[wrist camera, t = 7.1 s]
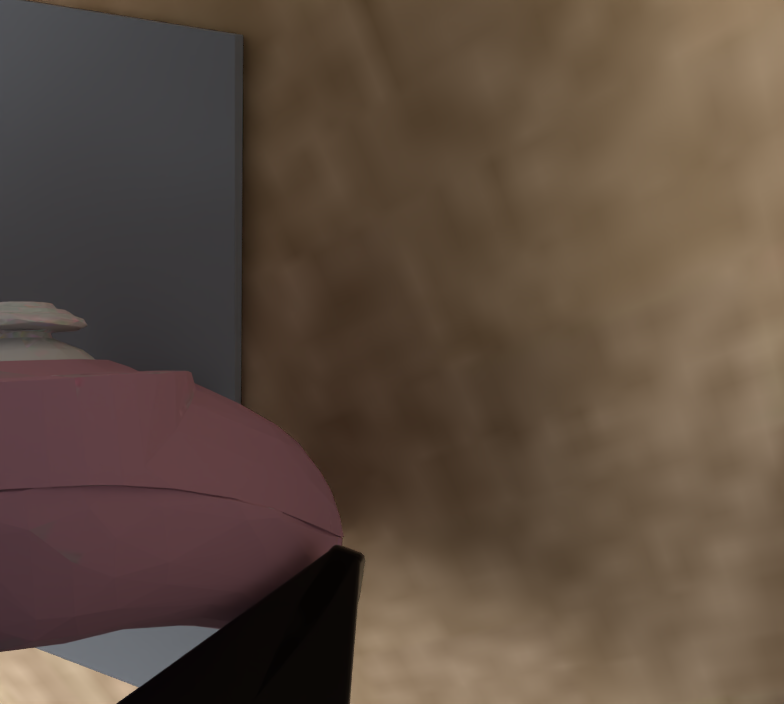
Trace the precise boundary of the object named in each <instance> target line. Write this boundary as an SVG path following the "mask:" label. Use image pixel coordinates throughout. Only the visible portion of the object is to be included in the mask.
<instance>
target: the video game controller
mask: <svg viewBox="0 0 784 704" xmlns="http://www.w3.org/2000/svg"><path fill="white" fill-rule="evenodd" d="M86 326H88V325H87V324H86V322H85V320H84V319H82V318H79V317H76V316H74V315H73V314H71V313H70V312H68V311H66V310H63V309H57V308H56V307H55V306H54V305H53V304H51V303H45V302H0V652H3V651H11V650H19V649H26V648H34V647H42V646H50V645H58V644H65V643H69V642H73V641H77V640H81V639H85V638H89V637H94V636H98V635H102V634H106V633H110V632H114V631H118V630H122V629H137V628H152V627H167V626H198V627H206V628H214V629H221V628H222V627H224V626H225V625H226V624H228V623H229V622H231V621H232V620H233V619H235V618H236V617H237V616H239V615H240V614H242V613H243V612H244V611H246V610H247V609H249V608H250V607H251V606H253V605H254V604H256V603H257V602H258V601H260V600H261V599H262V598H264V597H265V596H267V595H268V594H269V593H271V592H272V591H274V590H275V589H276V588H278V587H279V586H281V585H282V584H283V583H285V582H286V581H287V580H289V579H290V578H292V577H293V576H294V575H296V574H297V573H299V572H300V571H301V570H303V569H304V568H306V567H307V566H308V565H310V564H311V563H312V562H314V561H315V560H317V559H318V558H319V557H321V556H322V555H324V554H325V553H326V552H328V551H329V549H330V548H331V547H332V546H334V545H341V546H342V537H344V536H343V530H342V525H341V519H340V515H339V512H338V509H337V506H336V503H335V500H334V497H333V494H332V491H331V490H330V488H329V486H328V484H327V482H326V481H325V479H324V477H323V475H322V473H321V472H320V471H319V469H318V468H317V467H316V465H315V464H314V463H313V461H312V460H311V459H310V457H309V456H308V455H307V453H306V452H305V451H304V449H303V448H302V447H301V445H300V444H299V443H298V442H297V441H295V440H294V439H293V438H292V437H291V436H289V435H288V434H287V433H286V432H285V431H283V430H282V429H281V428H280V427H279V426H277V425H276V424H274V423H272V422H271V421H269V420H267V419H265V418H264V417H262V416H260V415H258V414H257V413H255V412H253V411H251V410H249V409H248V408H246V407H244V406H242V405H241V404H239V403H237V402H235V401H233V400H230V399H228V398H226V397H224V396H222V395H220V394H217V393H215V392H213V391H211V390H209V389H207V388H204V387H202V386H200V385H198V384H196V383H194V380H193V377H192V373H191V372H189V371H137V370H135V369H133V368H131V367H128V366H125V365H122V364H119V363H116V362H113V361H110V360H96V359H94V358H93V357H92V356H90V355H89V354H88V353H87V352H85V351H84V350H82V349H79V348H76V347H74V346H71V345H69V344H66V343H64V342H61V341H59V340H56V339H53V338H52V335H51V333H57V332H69V331H78V330H80V329H82V328H84V327H86Z"/></svg>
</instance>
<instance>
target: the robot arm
mask: <svg viewBox="0 0 784 704" xmlns="http://www.w3.org/2000/svg"><path fill="white" fill-rule="evenodd" d="M364 566H365V556H364V555H363V554H362V553H361V552H358V551H355V550H352V549H349V548H346V547H344V546H341V545H334V546H332V547H331V548H330V549H329V551H328V552H326V553H325V554H324V555H322V556H321V557H319V558H318V559H317V560H315V561H314V562H312V563H311V564H310V565H308V566H307V567H306V568H304V569H303V570H301V571H300V572H299V573H297V574H296V575H294V576H293V577H292V578H290V579H289V580H287V581H286V582H285V583H283V584H282V585H281V586H279V587H278V588H276V589H275V590H274V591H272V592H271V593H269V594H268V595H267V596H265V597H264V598H262V599H261V600H260V601H258V602H257V603H256V604H254V605H253V606H251V607H250V608H249V609H247V610H246V611H244V612H243V613H242V614H240V615H239V616H237V617H236V618H235V619H233V620H232V621H231V622H229V623H228V624H226V625H225V626H224V627H222V628H221V629H219V630H218V631H217V632H215V633H214V634H212V635H211V636H210V637H208V638H207V639H206V640H204V641H203V642H201V643H200V644H199V645H197V646H196V647H194V648H193V649H192V650H190V651H189V652H187V653H186V654H185V655H183V656H182V657H181V658H179V659H178V660H176V661H175V662H174V663H172V664H171V665H169V666H168V667H167V668H165V669H164V670H163V671H161V672H160V673H158V674H157V675H156V676H154V677H153V678H151V679H150V680H149V681H147V682H146V683H144V684H143V685H142V686H140V687H139V688H138V689H136V690H135V691H133V692H132V693H131V694H129V695H128V696H126V697H125V698H124V699H122V700H121V701H119V702H118V703H117V704H350V694H351V682H352V669H353V656H354V644H355V631H356V619H357V606H358V601H359V597H360V592H361V585H362V579H363V573H364Z"/></svg>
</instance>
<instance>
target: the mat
mask: <svg viewBox="0 0 784 704" xmlns="http://www.w3.org/2000/svg"><path fill="white" fill-rule="evenodd" d="M242 143H243V35H240V34H234V33H228V32H222V31H215V30H209V29H203V28H196V27H190V26H184V25H178V24H171V23H165V22H159V21H153V20H146V19H140V18H134V17H128V16H121V15H115V14H109V13H102V12H96V11H90V10H84V9H77V8H71V7H65V6H59V5H52V4H46V3H40V2H33V1H27V0H0V302H45V303H51V304H53V305H54V306H55V307H56V308H57V309H63V310H66V311H68V312H70V313H71V314H73V315H74V316H76V317H79V318H82V319H84V320H85V322H86V324H87V325H88V326H86V327H84V328H82V329H80V330H78V331H69V332H57V333H51V335H52V338H53V339H56V340H59V341H61V342H64V343H66V344H69V345H71V346H74V347H76V348H79V349H82V350H84V351H85V352H87V353H88V354H89V355H90V356H92V357H93V358H94V359H96V360H110V361H113V362H116V363H119V364H122V365H125V366H128V367H131V368H133V369H135V370H137V371H189V372H191V373H192V377H193V380H194V383H196V384H198V385H200V386H202V387H204V388H207V389H209V390H211V391H213V392H215V393H217V394H220V395H222V396H224V397H226V398H228V399H230V400H233V401H235V402H237V403H239V404H241V310H242ZM218 630H219V629H214V628H206V627H198V626H167V627H152V628H137V629H122V630H118V631H114V632H110V633H106V634H102V635H98V636H94V637H89V638H85V639H81V640H77V641H73V642H69V643H65V644H58V645H50V646H42V647H35V648H37V649H40V650H43V651H45V652H48V653H50V654H53V655H56V656H58V657H61V658H64V659H66V660H69V661H71V662H74V663H77V664H79V665H82V666H84V667H87V668H90V669H92V670H95V671H98V672H100V673H103V674H105V675H108V676H111V677H113V678H116V679H118V680H121V681H124V682H126V683H129V684H131V685H134V686H137V687H140V686H142V685H143V684H144V683H146V682H147V681H149V680H150V679H151V678H153V677H154V676H156V675H157V674H158V673H160V672H161V671H163V670H164V669H165V668H167V667H168V666H169V665H171V664H172V663H174V662H175V661H176V660H178V659H179V658H181V657H182V656H183V655H185V654H186V653H187V652H189V651H190V650H192V649H193V648H194V647H196V646H197V645H199V644H200V643H201V642H203V641H204V640H206V639H207V638H208V637H210V636H211V635H212V634H214V633H215V632H217V631H218Z"/></svg>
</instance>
